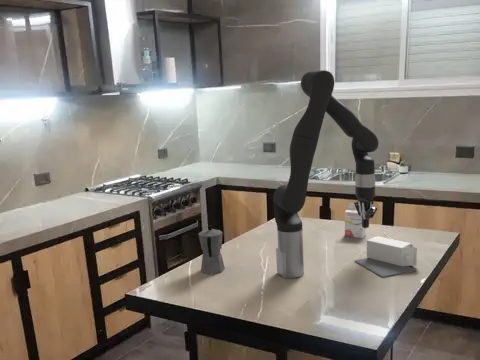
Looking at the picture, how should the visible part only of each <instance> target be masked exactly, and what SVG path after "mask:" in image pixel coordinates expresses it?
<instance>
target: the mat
mask: <svg viewBox="0 0 480 360" xmlns="http://www.w3.org/2000/svg"><path fill="white" fill-rule="evenodd" d="M354 262H355V263H356V264H358V265H359V266H361V267H363V268H365V269H367V270H369V271H370V272H372V273H374V274H375V275H376V276H379V277H380V278H388V277H394V276H398V275H403V274H408V273H413V272H416V268H413V267H411V266H399V265H395V264H391V263H387V262H383V261H379V260H375V259H371V258H367V257H366V258H360V259H355V260H354Z"/></svg>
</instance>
